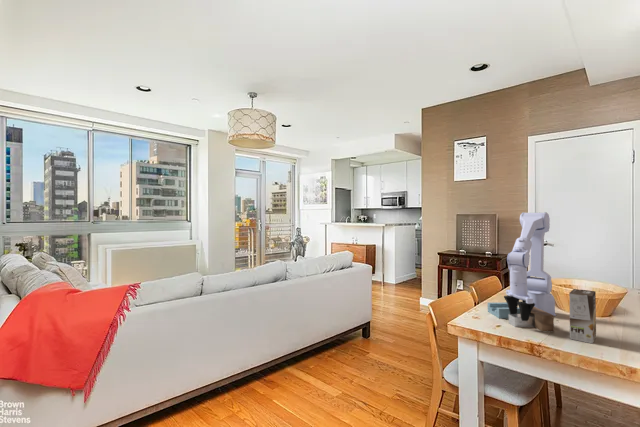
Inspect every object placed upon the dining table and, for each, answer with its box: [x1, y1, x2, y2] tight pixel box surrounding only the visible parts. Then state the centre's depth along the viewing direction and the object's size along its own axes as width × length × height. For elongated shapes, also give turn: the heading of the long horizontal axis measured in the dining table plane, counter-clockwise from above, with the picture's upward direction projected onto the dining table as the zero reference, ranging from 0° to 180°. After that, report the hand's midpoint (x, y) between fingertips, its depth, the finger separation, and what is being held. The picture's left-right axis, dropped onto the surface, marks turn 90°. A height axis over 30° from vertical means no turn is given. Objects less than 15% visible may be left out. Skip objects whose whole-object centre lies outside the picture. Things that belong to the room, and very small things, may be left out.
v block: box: [487, 301, 520, 320], centre depth 139 cm, size 10×10×4 cm
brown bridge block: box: [530, 307, 555, 332], centre depth 126 cm, size 4×14×6 cm, turn 178°
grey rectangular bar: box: [508, 314, 535, 328], centre depth 126 cm, size 12×4×4 cm, turn 90°
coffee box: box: [569, 288, 597, 344], centre depth 113 cm, size 9×6×16 cm
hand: (518, 317), depth 126 cm, fingers open, 7 cm apart
